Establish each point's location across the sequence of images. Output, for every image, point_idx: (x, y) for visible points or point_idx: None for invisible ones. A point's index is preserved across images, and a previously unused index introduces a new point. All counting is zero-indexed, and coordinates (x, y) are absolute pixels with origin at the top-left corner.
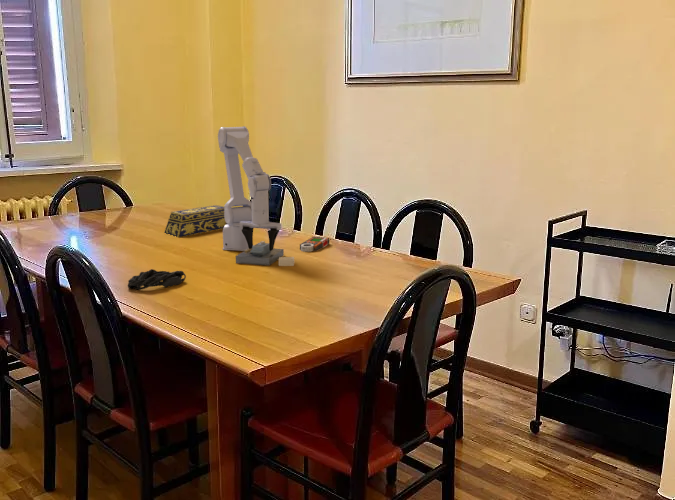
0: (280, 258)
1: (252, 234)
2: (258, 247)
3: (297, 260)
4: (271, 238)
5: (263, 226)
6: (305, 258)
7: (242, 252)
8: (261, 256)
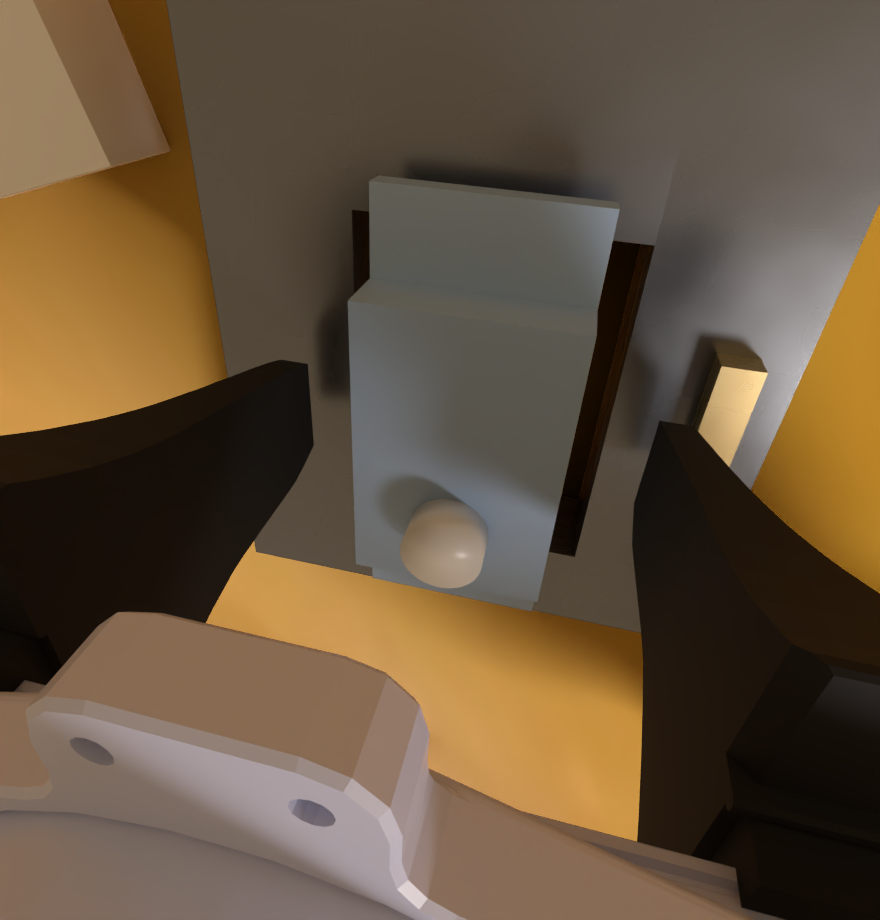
0: (37, 61)
1: (646, 716)
2: (454, 309)
3: (59, 328)
4: (105, 428)
5: (22, 697)
6: (43, 417)
7: (811, 338)
8: (363, 68)
